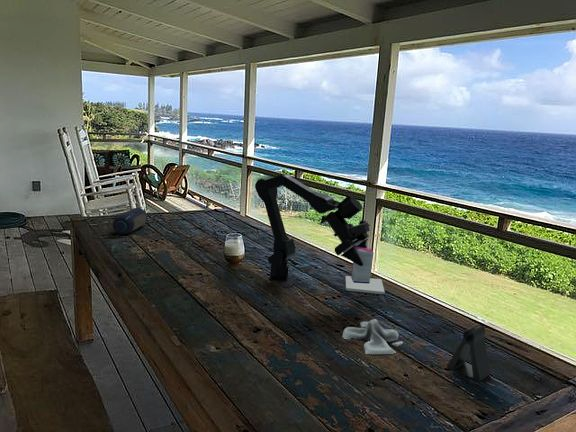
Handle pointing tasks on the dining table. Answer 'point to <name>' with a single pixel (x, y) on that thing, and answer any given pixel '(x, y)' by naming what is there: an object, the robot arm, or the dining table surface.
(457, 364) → the phone stand
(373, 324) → the cloth
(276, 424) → the dining table surface
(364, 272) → the supplement box
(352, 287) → the mat
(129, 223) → the portable speaker
